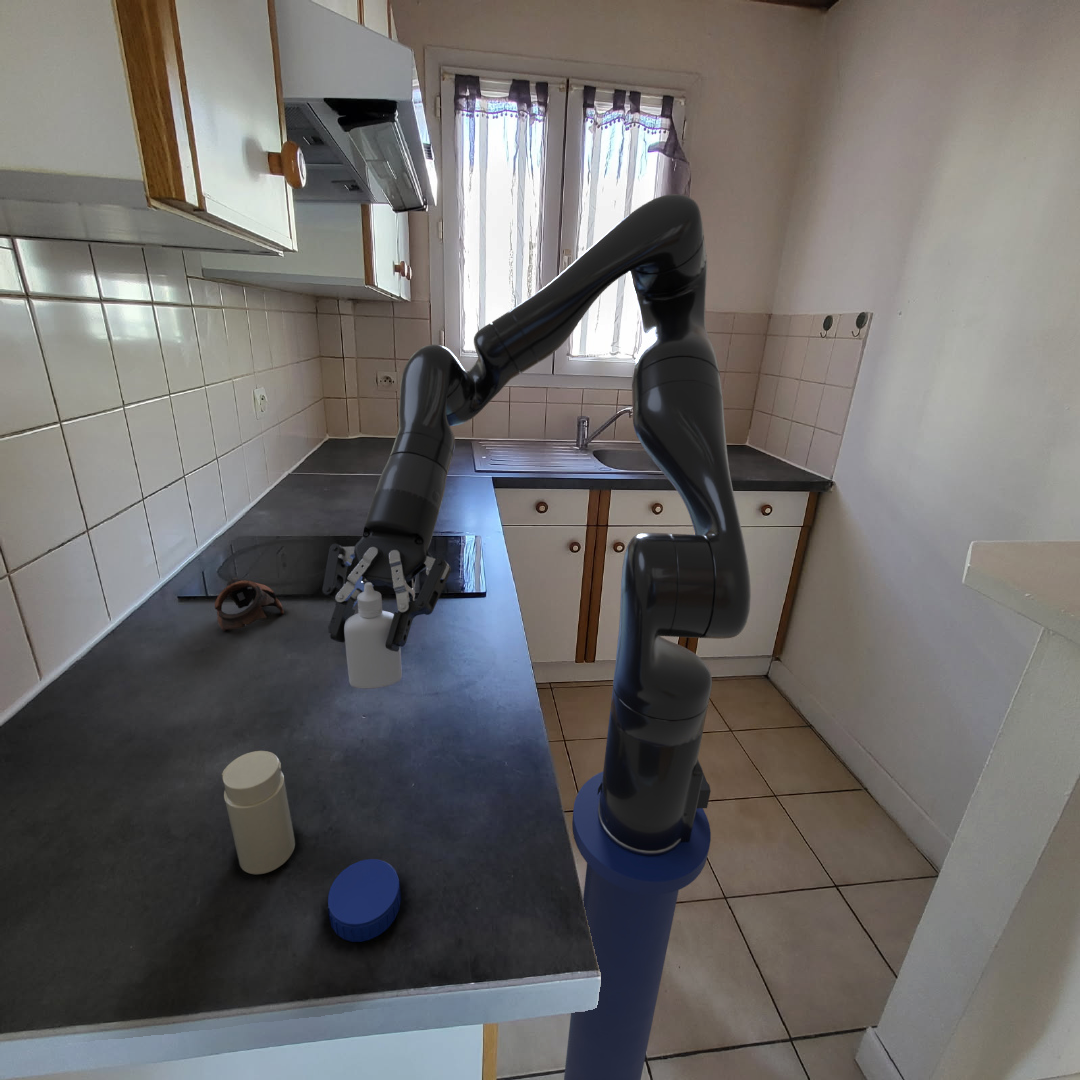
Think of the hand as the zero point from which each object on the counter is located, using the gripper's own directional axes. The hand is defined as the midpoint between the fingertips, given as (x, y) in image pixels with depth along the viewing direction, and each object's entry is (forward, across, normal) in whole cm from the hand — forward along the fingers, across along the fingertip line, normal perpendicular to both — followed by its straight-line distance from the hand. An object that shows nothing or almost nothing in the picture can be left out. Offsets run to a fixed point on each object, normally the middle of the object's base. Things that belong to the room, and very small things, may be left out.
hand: (364, 644), depth 58 cm
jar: (+21, +5, -3) cm, 22 cm away
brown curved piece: (-5, +36, -30) cm, 47 cm away
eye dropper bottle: (+3, 0, -5) cm, 6 cm away
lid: (+21, -7, 0) cm, 22 cm away
